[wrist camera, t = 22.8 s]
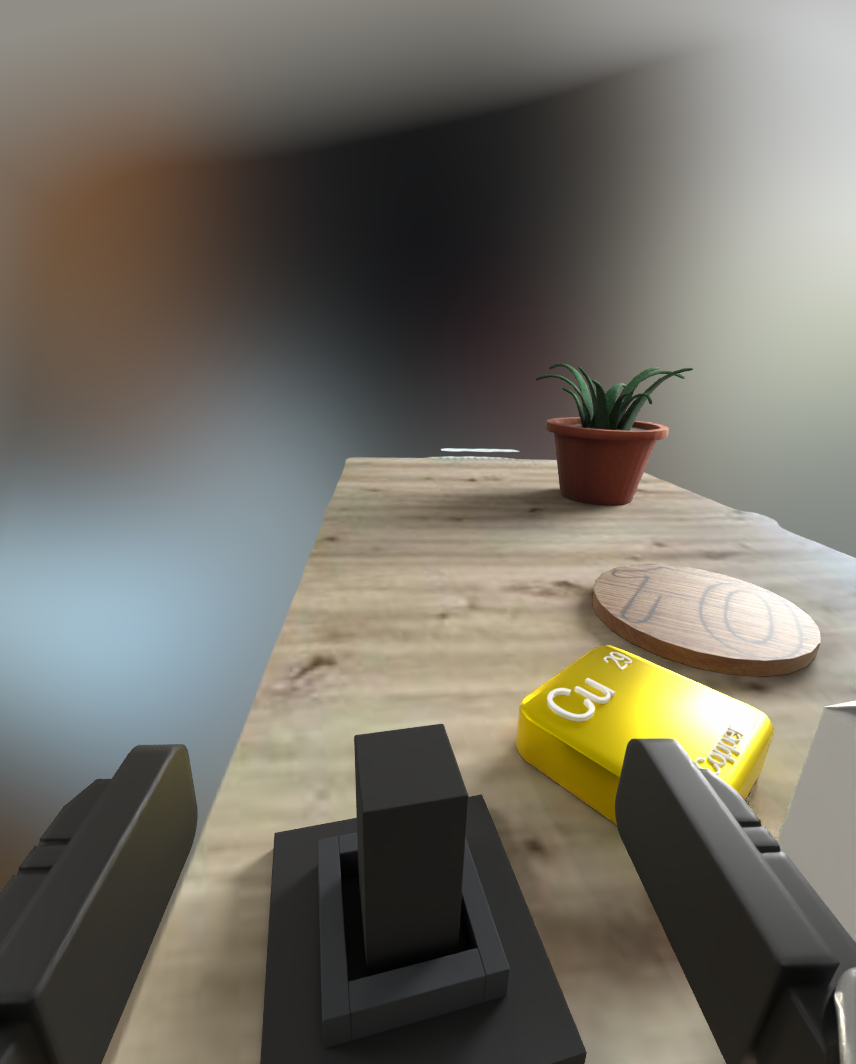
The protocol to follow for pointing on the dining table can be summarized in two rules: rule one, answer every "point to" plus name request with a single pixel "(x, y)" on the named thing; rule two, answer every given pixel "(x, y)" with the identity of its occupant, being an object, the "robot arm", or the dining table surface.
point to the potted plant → (605, 440)
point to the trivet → (706, 619)
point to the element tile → (634, 725)
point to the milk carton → (827, 814)
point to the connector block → (409, 846)
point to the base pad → (414, 991)
